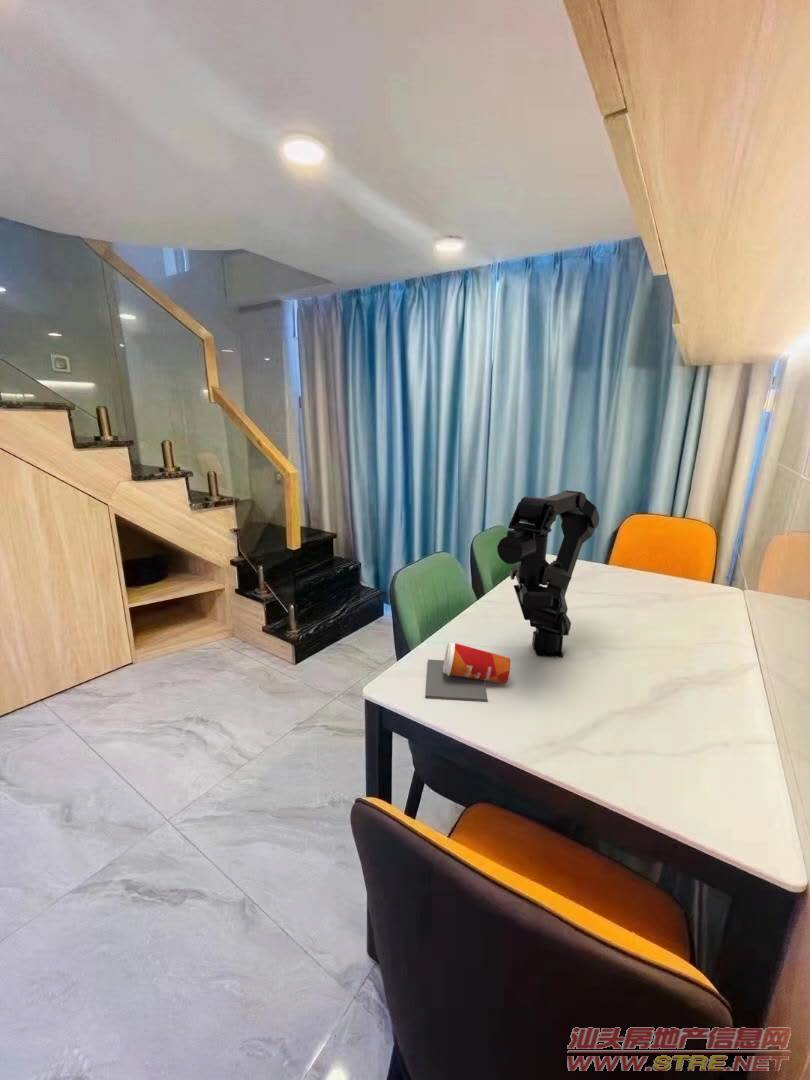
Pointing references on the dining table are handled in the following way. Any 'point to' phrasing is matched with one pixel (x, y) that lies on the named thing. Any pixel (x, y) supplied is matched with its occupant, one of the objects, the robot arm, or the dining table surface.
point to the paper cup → (475, 663)
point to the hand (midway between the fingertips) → (526, 619)
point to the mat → (452, 685)
